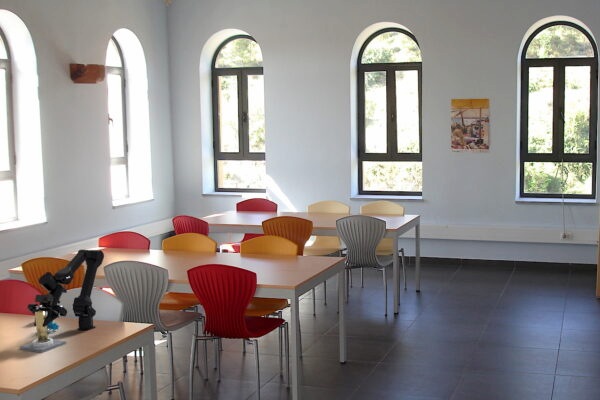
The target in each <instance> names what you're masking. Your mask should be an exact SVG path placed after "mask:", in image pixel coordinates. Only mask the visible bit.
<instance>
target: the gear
mask: <svg viewBox="0 0 600 400" xmlns="http://www.w3.org/2000/svg"><path fill="white" fill-rule="evenodd" d="M59 327H60V325H59V324H58V323H57V322H54V320H53V321H52V322H50V323H49V324H48V325H47V331H52V330H53V331H56V330H57V331H58V330H59Z"/></svg>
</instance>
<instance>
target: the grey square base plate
mask: <svg viewBox="0 0 600 400" xmlns="http://www.w3.org/2000/svg"><path fill="white" fill-rule="evenodd" d="M66 344H67V341H66V340H60V339H59V340H58V339H53V338H52V337H51V338H50V337H48V340H46V341H38V340H37V339H34V340H33V341H32V342H30V343H26V344H25V345H21V346H19V350H20V351H21V350H22V351H28V352H36V353H45V352H49V351H51V350H53V349H57V348H58V347H61V346H64V345H66Z"/></svg>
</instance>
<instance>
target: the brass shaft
mask: <svg viewBox="0 0 600 400" xmlns="http://www.w3.org/2000/svg"><path fill="white" fill-rule="evenodd" d="M34 315H35V316H34V319H35V318H36V335H37V336H36V337H37V339H36V340H38V341H46V340H48V338H49V337H48V336H49V335H48V330H47V326H45V327H43V323H44V321H45V319H46V313H45V310H40V311H36V312H35V314H34Z"/></svg>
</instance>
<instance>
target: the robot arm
mask: <svg viewBox="0 0 600 400" xmlns="http://www.w3.org/2000/svg"><path fill="white" fill-rule="evenodd" d="M104 258H105V254H104V252H103V251H102V250H100V249H79V250H78V251H77V253H76V255H74V256H73V257H72V259H71V260H70V261H69V262H68V263H67V265H66V266H65V267H63V268H61V269H59V270H57V271H56V272H55V273H54V274H52V272H51V271H46V272H45V273H43V275H41V276H40V277H39V278H38V284H39V285H40V286H41V287H42V288H44V289H45V290H46V291H48V293H46V294H35V298H34V302H35V303H28V305H27V306H26V307H27V308H26V309H28V311H30V312H31V313H32V314H33V315H35V312H36V311H40V310H45V312H47V316H46V319H45V321H44V323H43V327H45V326H47V325H48V324H49V323H50V322H52V321H53V322H54V320H56V319H58V318H60V317H66V316H67V314H68V310H67V309H66V308H65V307H64V306H63V305H62V304H61V301H60V299H61V297H62V295H63V294H64V293H65V294H66V293H68V290H67V287H66V286H64V285H70V284H71V282H72V281H73V280H74V276H75V275H74V274H75V273H76V272H77V270H79V268H80V267H81V266H82V265H83V263H84V262H85V264H86V269H85V273H84V277H83V282H82V286H81V289H80V292H79V295H78V296H75V297H74V298H73V303H72V311H73V314H74V316H75V317H76V318H77V317H78V320H77V321H78V322H77V323H78V327H77V328H76V330H80V331H90V330H92V329H95V328H96V327H97V326H96V325H94V317H95V316H96V313H97V311H96V309H95V308H94V307H93V302H92V299H91V295H92V291H93V287H94V283H95V279H96V275H97V271H98V269H99V267H101V266H102V264H103V262H104ZM37 303H39V304H37ZM40 305H42V307H40ZM33 325H34V327H36V318H35V317H34V324H33Z"/></svg>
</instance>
